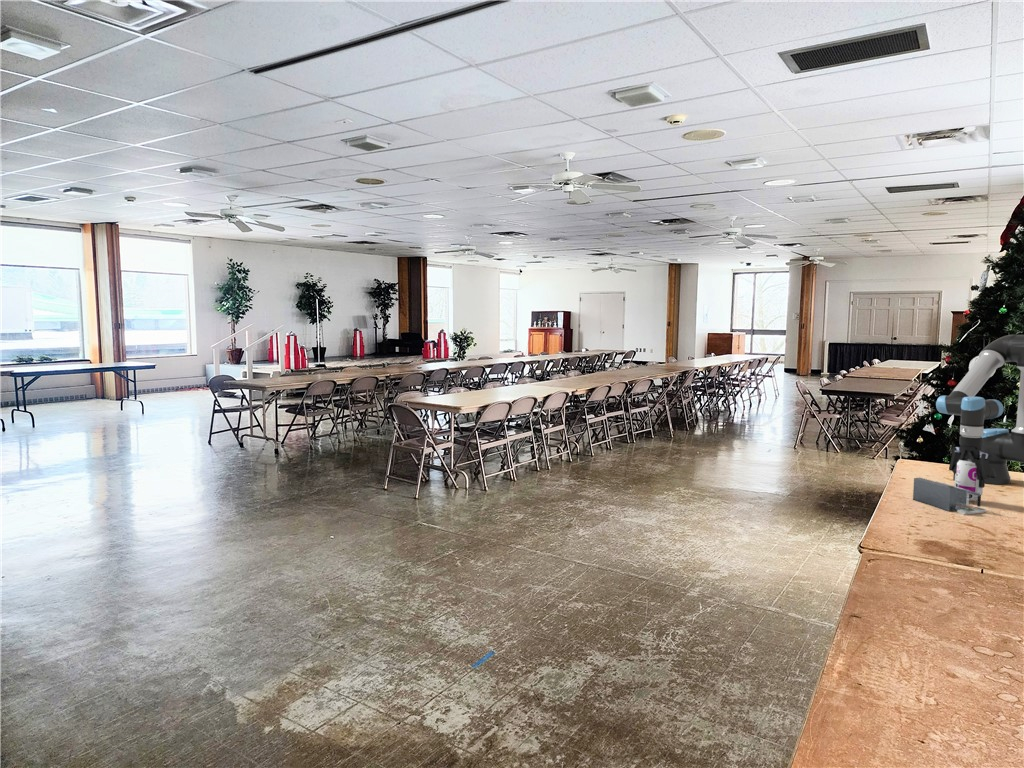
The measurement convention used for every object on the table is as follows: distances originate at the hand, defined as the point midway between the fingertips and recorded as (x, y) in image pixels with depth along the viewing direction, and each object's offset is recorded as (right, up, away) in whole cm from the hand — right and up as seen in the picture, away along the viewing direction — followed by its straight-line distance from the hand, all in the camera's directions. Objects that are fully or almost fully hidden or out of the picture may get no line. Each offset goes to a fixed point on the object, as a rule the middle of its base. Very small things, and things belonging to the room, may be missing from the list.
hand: (968, 492), depth 255 cm
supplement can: (0, -3, 0) cm, 2 cm away
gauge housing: (-12, -5, -5) cm, 14 cm away
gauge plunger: (-8, -3, -4) cm, 9 cm away
